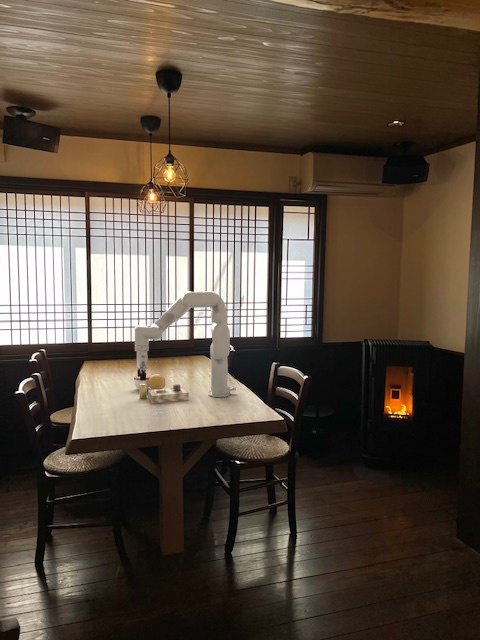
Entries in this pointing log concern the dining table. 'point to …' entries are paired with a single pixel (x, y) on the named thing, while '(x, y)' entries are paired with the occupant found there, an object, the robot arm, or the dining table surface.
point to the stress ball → (156, 382)
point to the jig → (168, 394)
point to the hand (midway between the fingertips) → (141, 378)
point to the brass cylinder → (143, 391)
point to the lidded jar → (137, 381)
